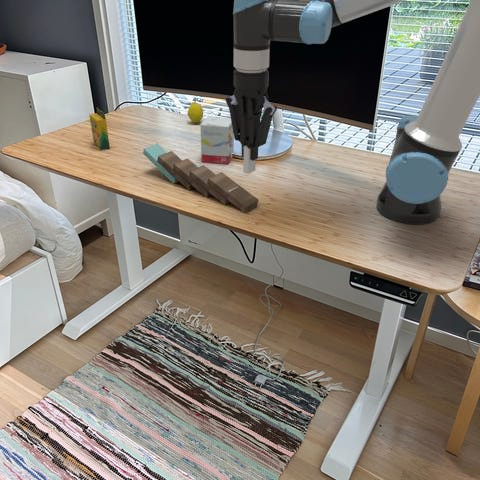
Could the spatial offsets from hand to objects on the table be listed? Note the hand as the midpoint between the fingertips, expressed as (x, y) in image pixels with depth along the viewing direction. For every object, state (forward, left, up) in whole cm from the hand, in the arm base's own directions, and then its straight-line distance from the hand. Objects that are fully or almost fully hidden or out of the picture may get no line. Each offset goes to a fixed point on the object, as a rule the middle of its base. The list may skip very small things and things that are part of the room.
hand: (249, 171), depth 115 cm
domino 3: (+12, 0, -9) cm, 15 cm away
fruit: (+56, -38, -10) cm, 68 cm away
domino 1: (+24, 0, -9) cm, 26 cm away
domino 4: (+6, 0, -9) cm, 11 cm away
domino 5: (-1, 0, -9) cm, 9 cm away
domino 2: (+18, 0, -9) cm, 20 cm away
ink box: (+28, -19, -10) cm, 35 cm away
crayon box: (+63, -2, -10) cm, 63 cm away
